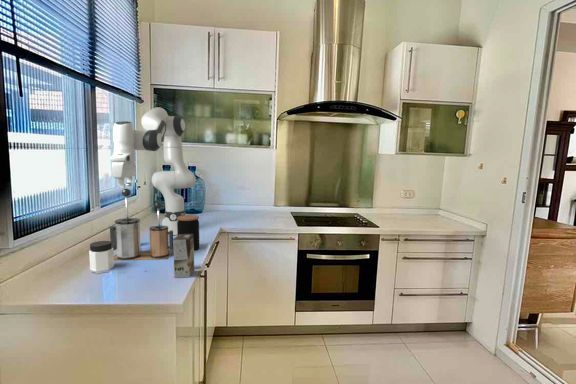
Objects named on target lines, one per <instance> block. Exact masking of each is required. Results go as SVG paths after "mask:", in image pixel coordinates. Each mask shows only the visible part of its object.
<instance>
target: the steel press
mask: <svg viewBox="0 0 576 384" xmlns="http://www.w3.org/2000/svg"><path fill="white" fill-rule="evenodd" d="M109 235H110V236H109V238H110V240H109V241H111V242H112V248H113V251H115V253H116V254H117V259H120V260H128V261H130V260H129V259H135V258H138V257H140V253H141V251H142V250H141V249H142V248H141V223H140V218H137V217H128V221H126V217H125V218H119V219H116V220H114V225H111V226H110V227H109Z"/></svg>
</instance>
